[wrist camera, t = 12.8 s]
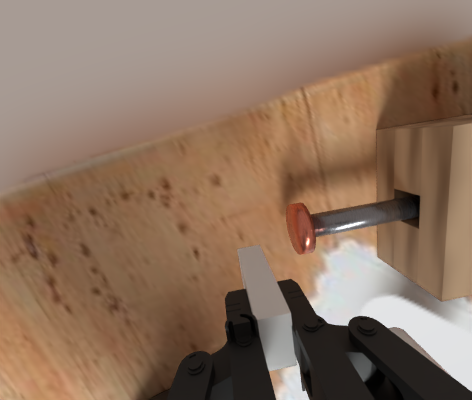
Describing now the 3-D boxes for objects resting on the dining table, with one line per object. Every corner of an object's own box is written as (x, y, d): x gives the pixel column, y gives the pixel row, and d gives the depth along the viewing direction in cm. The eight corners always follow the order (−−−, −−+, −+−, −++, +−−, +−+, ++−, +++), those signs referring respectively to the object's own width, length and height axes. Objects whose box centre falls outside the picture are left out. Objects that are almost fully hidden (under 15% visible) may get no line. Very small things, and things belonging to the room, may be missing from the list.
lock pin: (288, 242, 25) (305, 264, 20) (284, 199, 23) (301, 213, 19) (416, 217, 26) (458, 233, 21) (417, 174, 24) (462, 182, 20)
